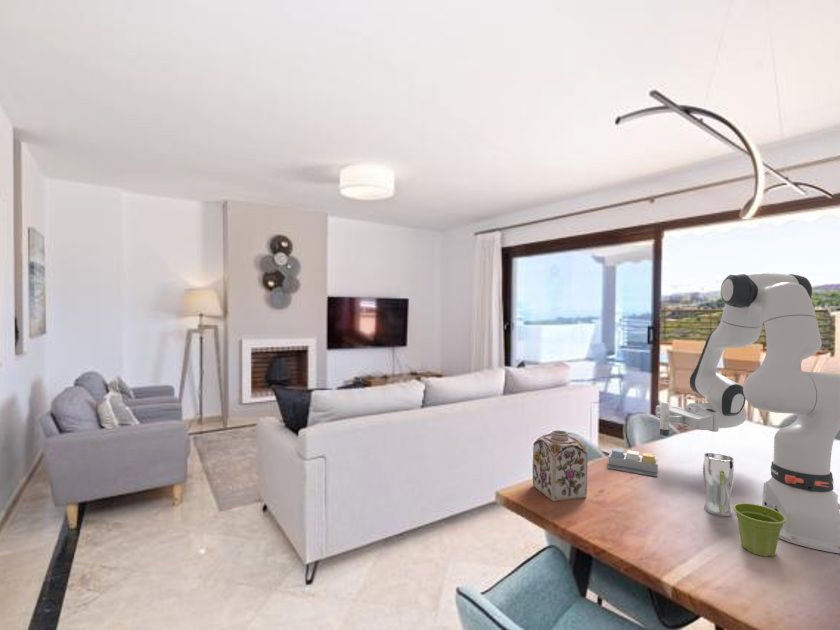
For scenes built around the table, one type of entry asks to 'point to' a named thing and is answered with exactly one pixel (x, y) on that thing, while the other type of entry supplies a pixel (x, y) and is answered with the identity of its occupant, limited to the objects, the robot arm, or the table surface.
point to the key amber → (648, 458)
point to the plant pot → (759, 528)
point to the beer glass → (718, 483)
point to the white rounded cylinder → (663, 423)
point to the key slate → (618, 453)
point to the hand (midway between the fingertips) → (662, 417)
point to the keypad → (633, 465)
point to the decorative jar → (560, 466)
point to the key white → (633, 455)
